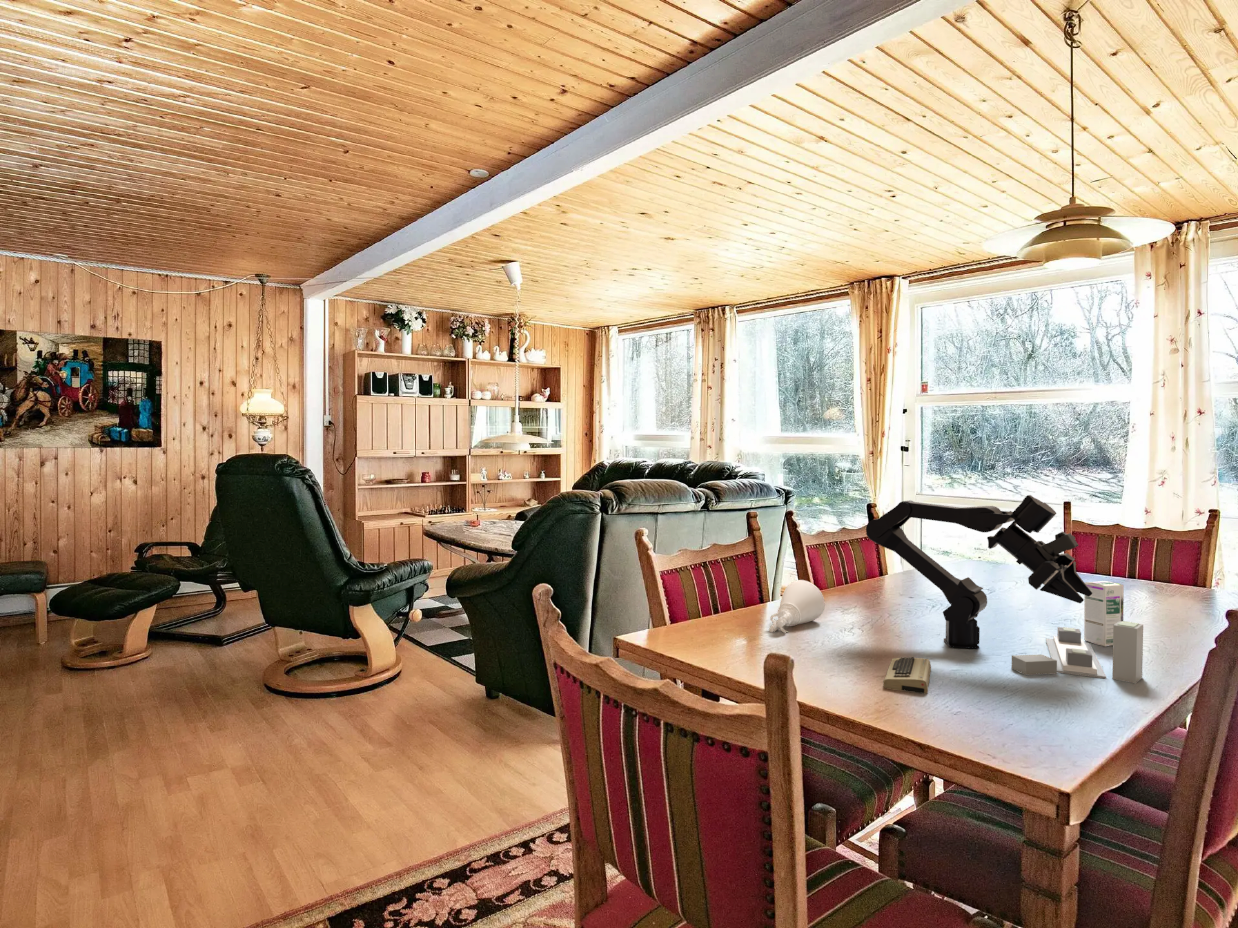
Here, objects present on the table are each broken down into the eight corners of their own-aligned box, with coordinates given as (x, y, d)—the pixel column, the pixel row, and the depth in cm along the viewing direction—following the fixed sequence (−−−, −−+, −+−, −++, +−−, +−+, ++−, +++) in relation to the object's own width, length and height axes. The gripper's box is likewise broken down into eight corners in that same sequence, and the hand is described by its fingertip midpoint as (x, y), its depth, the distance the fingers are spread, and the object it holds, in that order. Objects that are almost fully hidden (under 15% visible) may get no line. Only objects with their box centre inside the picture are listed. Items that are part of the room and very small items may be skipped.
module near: (1067, 664, 155) (1067, 651, 155) (1065, 659, 159) (1065, 647, 159) (1092, 667, 153) (1092, 654, 153) (1089, 662, 157) (1090, 649, 157)
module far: (1058, 641, 173) (1059, 629, 173) (1057, 637, 177) (1057, 626, 176) (1080, 643, 171) (1081, 632, 171) (1079, 639, 175) (1079, 628, 175)
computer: (890, 667, 159) (890, 652, 159) (931, 672, 155) (931, 657, 155) (882, 690, 145) (882, 673, 145) (927, 696, 141) (927, 679, 141)
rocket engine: (774, 597, 183) (804, 571, 197) (746, 620, 190) (776, 594, 204) (806, 634, 180) (833, 606, 194) (776, 656, 187) (804, 627, 201)
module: (1112, 678, 150) (1113, 623, 150) (1119, 673, 154) (1120, 619, 153) (1135, 683, 147) (1136, 627, 147) (1142, 677, 151) (1143, 623, 151)
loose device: (1025, 676, 153) (1025, 661, 153) (1011, 669, 157) (1011, 655, 157) (1056, 674, 154) (1056, 660, 154) (1041, 668, 158) (1042, 654, 158)
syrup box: (1104, 646, 174) (1106, 585, 173) (1082, 640, 179) (1084, 580, 179) (1123, 645, 175) (1125, 584, 175) (1101, 638, 181) (1102, 579, 180)
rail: (1055, 672, 154) (1055, 665, 154) (1045, 640, 179) (1046, 634, 179) (1106, 678, 150) (1106, 671, 150) (1089, 644, 175) (1089, 638, 175)
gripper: (1038, 524, 155) (1107, 577, 147) (1058, 518, 169) (1122, 565, 161) (1002, 562, 160) (1066, 615, 152) (1024, 553, 174) (1084, 601, 166)
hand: (1086, 598), depth 158 cm, fingers open, 9 cm apart
